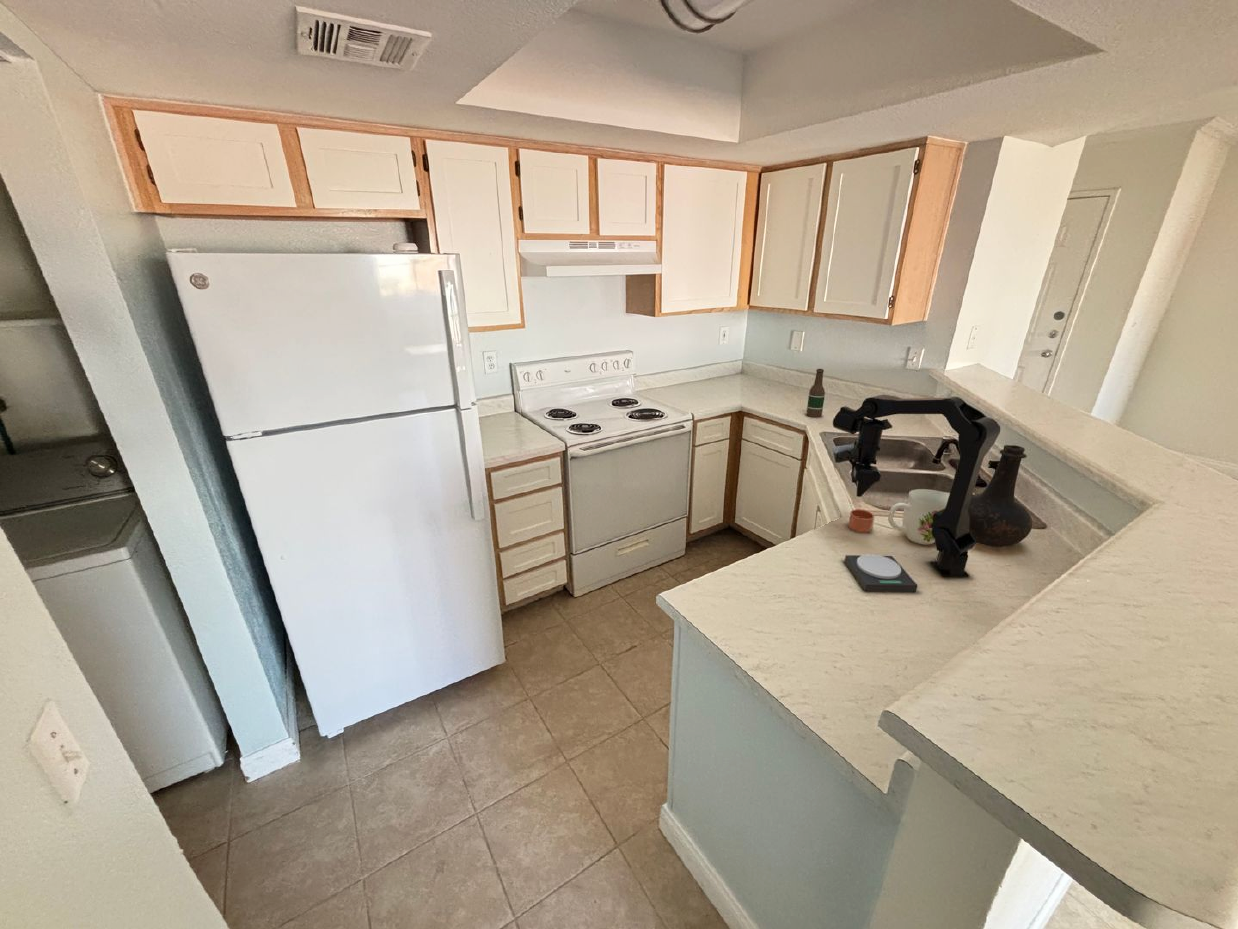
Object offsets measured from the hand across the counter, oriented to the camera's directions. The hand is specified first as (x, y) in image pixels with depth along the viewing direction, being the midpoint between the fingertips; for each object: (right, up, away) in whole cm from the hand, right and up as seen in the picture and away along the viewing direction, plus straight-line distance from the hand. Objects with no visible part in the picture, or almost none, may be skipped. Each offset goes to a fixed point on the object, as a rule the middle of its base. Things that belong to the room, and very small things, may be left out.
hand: (856, 489), depth 146 cm
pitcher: (+16, -14, -3) cm, 21 cm away
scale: (-4, -21, -20) cm, 29 cm away
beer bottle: (+31, +32, +113) cm, 121 cm away
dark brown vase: (+35, -14, -4) cm, 38 cm away
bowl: (+3, -12, +3) cm, 12 cm away
